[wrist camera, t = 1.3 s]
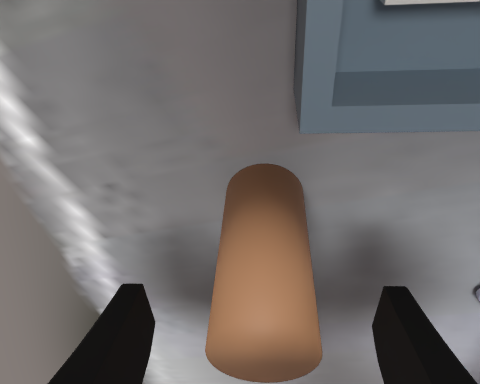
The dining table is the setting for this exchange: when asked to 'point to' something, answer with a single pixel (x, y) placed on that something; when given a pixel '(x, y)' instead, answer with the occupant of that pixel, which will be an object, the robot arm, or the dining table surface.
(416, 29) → the tray box
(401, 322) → the robot arm
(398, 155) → the dining table surface
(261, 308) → the peg
